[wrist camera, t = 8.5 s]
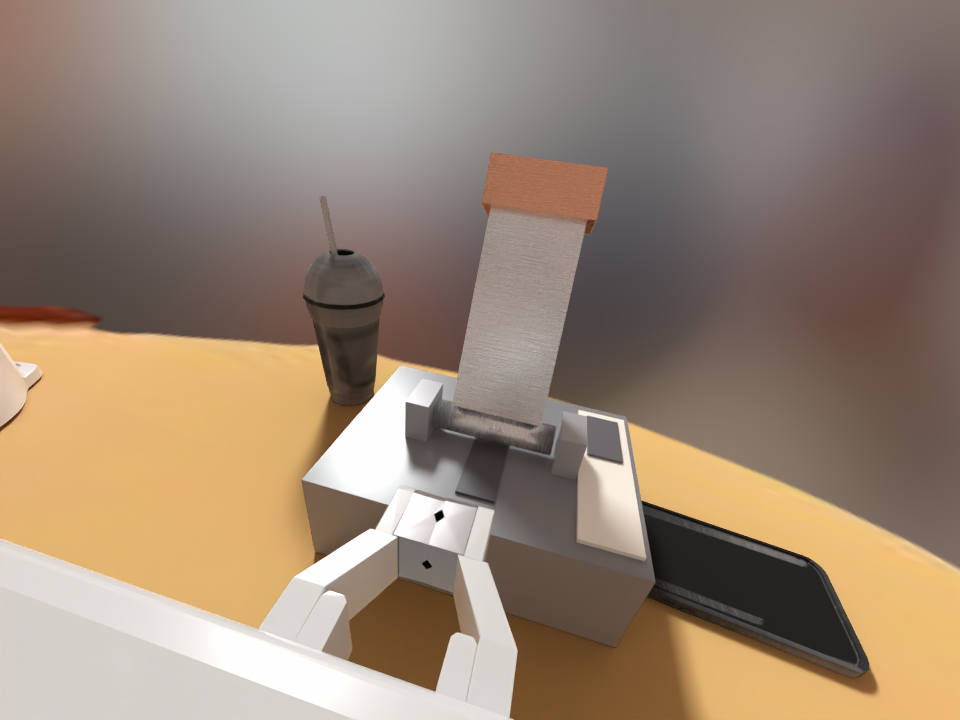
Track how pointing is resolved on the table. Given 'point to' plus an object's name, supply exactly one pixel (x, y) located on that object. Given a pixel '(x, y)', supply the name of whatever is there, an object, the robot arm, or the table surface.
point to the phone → (751, 590)
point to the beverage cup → (345, 318)
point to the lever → (521, 298)
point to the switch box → (502, 501)
